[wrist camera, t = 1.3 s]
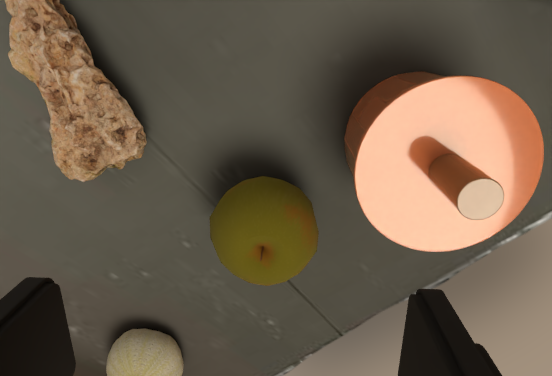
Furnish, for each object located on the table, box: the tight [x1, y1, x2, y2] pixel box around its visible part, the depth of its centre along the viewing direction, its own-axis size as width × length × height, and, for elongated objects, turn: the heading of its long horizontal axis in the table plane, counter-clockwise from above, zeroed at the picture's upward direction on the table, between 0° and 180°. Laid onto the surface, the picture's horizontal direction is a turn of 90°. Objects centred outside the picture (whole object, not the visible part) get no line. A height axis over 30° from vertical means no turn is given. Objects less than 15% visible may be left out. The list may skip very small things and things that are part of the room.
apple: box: [210, 176, 318, 286], centre depth 37 cm, size 10×10×11 cm
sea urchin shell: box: [106, 328, 184, 376], centre depth 47 cm, size 9×8×8 cm
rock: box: [5, 0, 147, 182], centre depth 36 cm, size 17×5×10 cm
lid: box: [353, 75, 544, 252], centre depth 27 cm, size 14×14×7 cm
